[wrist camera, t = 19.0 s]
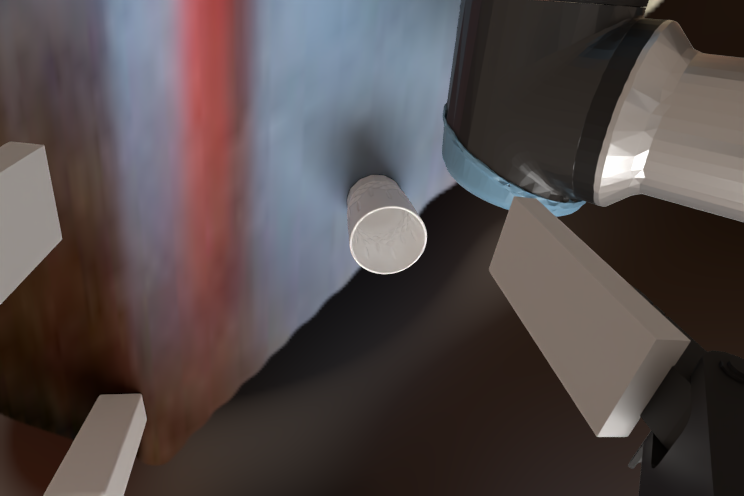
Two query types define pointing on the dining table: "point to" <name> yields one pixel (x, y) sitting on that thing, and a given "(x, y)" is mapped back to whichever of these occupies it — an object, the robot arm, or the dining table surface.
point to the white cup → (383, 226)
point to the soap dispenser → (102, 449)
